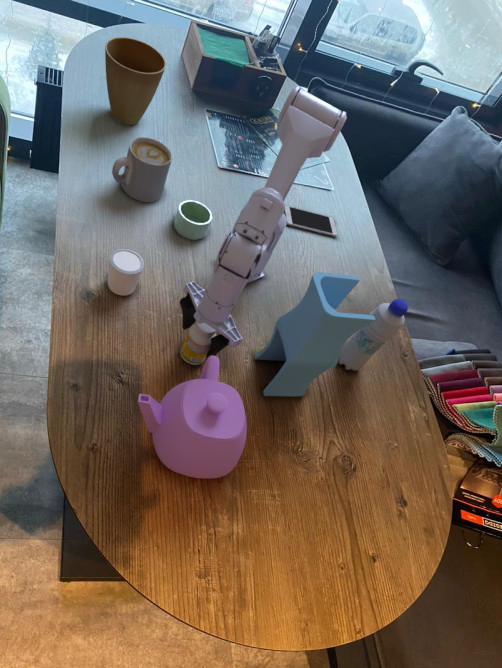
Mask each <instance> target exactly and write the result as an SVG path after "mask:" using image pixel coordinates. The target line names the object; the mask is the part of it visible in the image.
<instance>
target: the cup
mask: <svg viewBox="0 0 502 668" xmlns="http://www.w3.org/2000/svg"><path fill="white" fill-rule="evenodd" d="M212 222H213V213H212V211H211V209H209V207H208V206H207V205H205V204H204V203H203V202H200V201H198V200H194V199H193V200H191V199H186V200H183V201H181V202H180V203H179V204H178V207H177V209H176V212H175V216H174V220H173V227H174V229H175V231H176V232H177V233H178V234H179V235H181V236H182V237H184V238H186V239H188V240H195V241H197V240H201V239H203V238H205V237H206V235H207V234H208V231H209V229H210V226H211V223H212Z"/></svg>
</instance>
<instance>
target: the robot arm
mask: <svg viewBox="0 0 502 668" xmlns="http://www.w3.org/2000/svg"><path fill="white" fill-rule="evenodd" d="M347 119H348V116H347V112H346V111H344V110H343V111H342V110H341V109H339V108H337V107H335V106H333V105H332V104H330V103H328V102H326V101H324V100H323V99H322V98H319V97H317V96H316V95H313V94H311V93H310V92H308V91H306V90H304V89H302V88H301V86H299V85H296V86H294V87H292V89H291V90H290V92H289V94H288V96H287V98H286V99H285V102H284V104H283V106H282V108H281V111H280V113H279V115H278V117H277V121H276V122H277V127H278V129H277V131H276V135H277V137H278V139H279V141H280V142H281V147H280V149H279V152H278V153H277V156H276V158H275V161H274V163H273V165H272V168H271V170H270V173H269V175H268V177H267V179H266V182H265V184H264V186H263V187H262V188H259V189H256V190H254V191H253V192H252V193H251V195H250V197H249V198H248V201H246V202H245V204H244V205H243V208H242V209H241V211H240V213H239V214H238V216H237V218H236V221H235V223H234V225H233V227H232V231H231V230H230V231H229V232H228V233H227V234H226V236H225V237H224V240H223V241H222V244H221V245H220V248H219V249H218V252H217V255H216V258H215V263H214V266H213V269H212V271H213V272H212V274H211V277H210V279H209V281H208V284H207V285H206V287H205V289H204V288H203V287H201V286H200V285H198V283H197V282H196V281H194V280H191V281H190V282H189V281H188V282H186V283H185V284H184V287H183V289H182V291H183V293H184V294H185V296H184V297H181V298H180V300H179V305H180V308H181V315H182V326H181V327H182V328H181V329H182V330H184V331H185V330H189V329H190V327H191V326H192V325H193V324H194V323H196V322H198V323H206V324H207V325H209V326H210V327H212V328H213V329H215V330H216V332H218V333H219V334H216V336H215V337H213V338H211V345H210V348H209V350H208V352H207V354H206V360H207V359H208V357H209V356H212V355H213V356H217V355H218V354H219V353H220V352H221V351H222V350H223V349H225V348H226V347H227V346H229V347H230V349H233V348H235V347H237V346H239V345H240V344H241V343H242V340H243V337H242V335H241V334H240V332H239V330H238V328H237V325H236V324H235V321H234V318H233V316H232V314H231V313H232V311H233V310H234V307H235V306H236V304H237V302H238V300H239V298H240V296H241V295H242V293H243V291H244V289H245V287H246V285H247V284H249V283H252V282H254V281H256V280H259V279H261V278H264V277H265V273H264V270H265V268H266V266H267V265H268V262H269V261H270V259H271V257H272V255H273V252H274V250H275V248H276V246H277V245H278V243H279V241H280V239H281V236H283V233H284V232H285V228H286V226H287V225H288V224H287V222H286V221H287V218H286V216H285V206H286V205H285V203H284V202H285V200H286V198H287V196H288V194H289V192H290V190H291V188H292V186H293V184H294V183H295V180H296V179H297V177H298V174H299V173H300V171H301V169H302V168H303V166H304V164H305V163H306V161H307V159H314V158H315V159H316V158H320V157H321V156H322V155H323V153H326V152H329V151H331V149H332V148H333V145H334V144H335V142H336V140H337V138H338V136H339V134H340V133H341V131H342V129H343V127H344V125H345V123H346V121H347Z"/></svg>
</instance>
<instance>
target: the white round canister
mask: <svg viewBox="0 0 502 668" xmlns="http://www.w3.org/2000/svg"><path fill="white" fill-rule="evenodd" d="M144 268H145V261H144V259H143V257H142V256H141V255H140V254H139V253H138V252H136V251H135V250H132V249H129V248H118V249H115V250H113V251H112V252H111V253H110V255H109V263H108V273H107V276H108V277H107V286H108V289H109V290H110V291H111V292H112V293H114V294H115V295H118V296H129V295H132V294H133V292H134V291H136V287H137V285H138V283H139V280H140V277H141V275H142V273H143V270H144Z"/></svg>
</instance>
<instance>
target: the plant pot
mask: <svg viewBox="0 0 502 668" xmlns="http://www.w3.org/2000/svg"><path fill="white" fill-rule="evenodd" d="M104 56H105V58H104V59H105V62H104V63H105V80H106V89H107V90H106V91H107V97H108V102H109V108H110V112H111V116H112V117H113V119H114V120H115V121H117V122H118V123H120V124H122V125H126V126H135V125H137V124H139V122H140V121H141V120H142V118H143V116H144V115H145V113H146V111H147V110H148V108H149V106H150V104H151V102H152V100H153V99H154V96H155V95H156V92H157V91H158V88H159V85H160V82H161V80H162V78H163V76H164V72H165V70H166V66H167V62H166V60H165V57H164V56H163V54H162V53H161V52H160V51H159V50H158V49H156V48H155V47H154V46H152V45H151V44H148V43H147V42H144V41H142V40H139V39H136V38H131V37H125V36H118V37H113V38H110V39H108V40H107V41H106V43H105V45H104Z"/></svg>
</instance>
